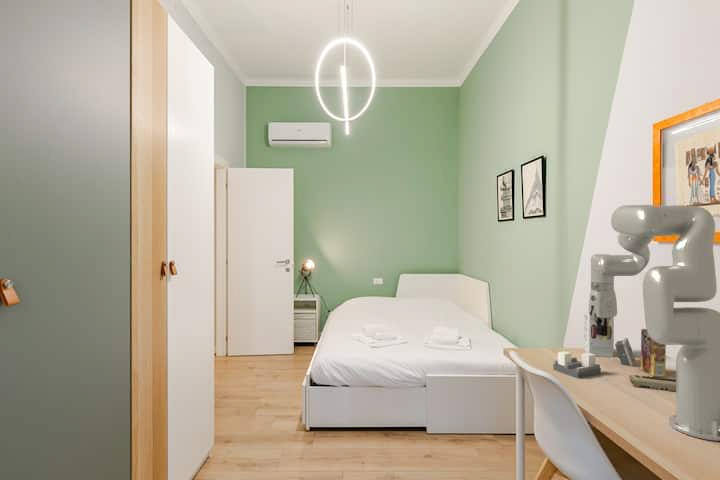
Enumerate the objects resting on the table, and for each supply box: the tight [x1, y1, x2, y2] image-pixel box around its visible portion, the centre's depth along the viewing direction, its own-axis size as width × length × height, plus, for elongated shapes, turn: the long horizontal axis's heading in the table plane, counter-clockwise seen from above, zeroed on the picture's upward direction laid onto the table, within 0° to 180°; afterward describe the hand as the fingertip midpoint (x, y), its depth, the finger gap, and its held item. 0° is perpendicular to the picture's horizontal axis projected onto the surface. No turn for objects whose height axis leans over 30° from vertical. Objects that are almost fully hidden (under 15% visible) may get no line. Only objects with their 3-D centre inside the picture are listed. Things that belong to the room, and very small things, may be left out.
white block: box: [581, 352, 597, 367], centre depth 150 cm, size 3×4×4 cm
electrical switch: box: [614, 337, 636, 367], centre depth 161 cm, size 9×5×9 cm, turn 141°
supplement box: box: [583, 311, 615, 358], centre depth 173 cm, size 10×9×17 cm
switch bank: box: [552, 356, 602, 379], centre depth 151 cm, size 10×12×3 cm
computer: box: [628, 374, 676, 393], centre depth 136 cm, size 16×8×3 cm, turn 65°
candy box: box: [640, 328, 667, 378], centre depth 149 cm, size 9×4×15 cm, turn 171°
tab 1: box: [557, 350, 572, 366], centre depth 152 cm, size 3×4×4 cm
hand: (602, 335), depth 154 cm, fingers closed
